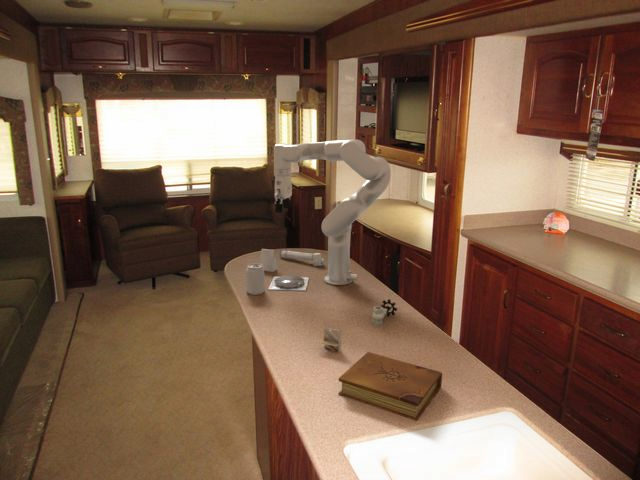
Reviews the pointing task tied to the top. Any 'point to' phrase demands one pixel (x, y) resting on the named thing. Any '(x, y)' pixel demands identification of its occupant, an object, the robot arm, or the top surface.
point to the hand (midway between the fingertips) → (282, 210)
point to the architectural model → (331, 339)
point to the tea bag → (268, 260)
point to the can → (255, 279)
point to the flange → (289, 283)
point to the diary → (391, 385)
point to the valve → (382, 312)
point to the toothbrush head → (303, 256)
